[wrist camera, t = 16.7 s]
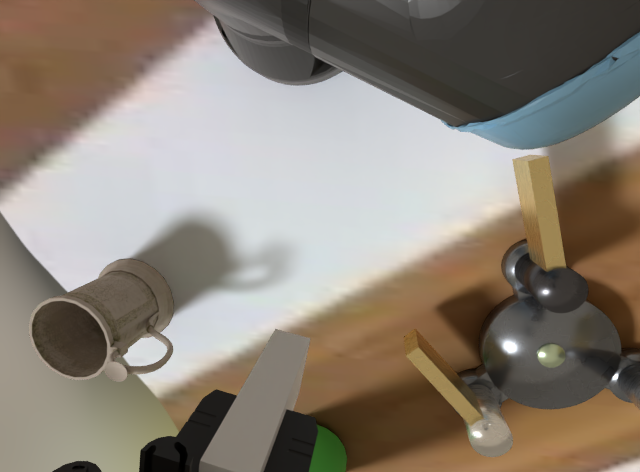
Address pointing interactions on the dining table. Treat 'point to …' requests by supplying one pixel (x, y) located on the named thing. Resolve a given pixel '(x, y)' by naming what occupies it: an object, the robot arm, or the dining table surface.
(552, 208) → the black and tan lever
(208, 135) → the dining table surface
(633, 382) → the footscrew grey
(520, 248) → the tribrach plate
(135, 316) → the mug
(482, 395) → the lever
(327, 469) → the bottle
